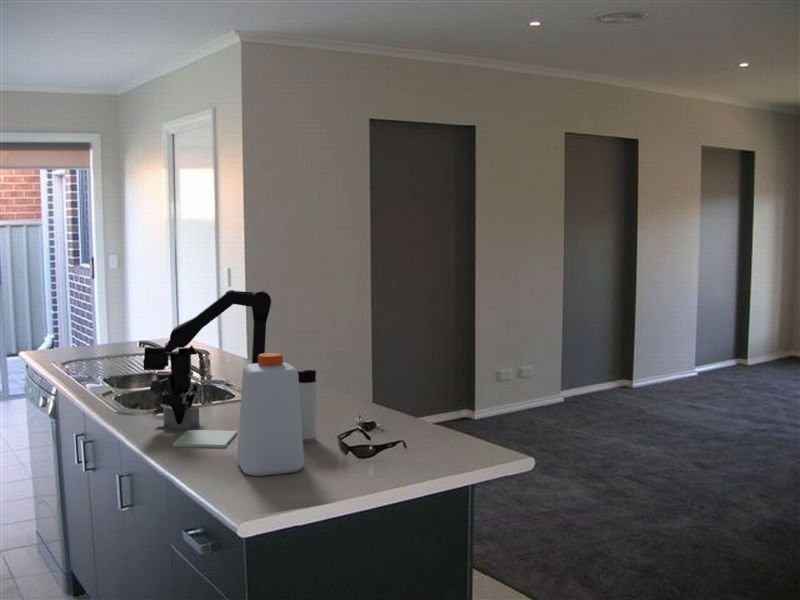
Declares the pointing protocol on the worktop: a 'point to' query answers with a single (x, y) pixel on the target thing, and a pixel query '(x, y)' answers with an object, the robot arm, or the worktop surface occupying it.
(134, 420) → the worktop surface
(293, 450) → the plastic bottle
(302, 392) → the travel mug
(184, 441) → the sage board
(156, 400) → the supplement bottle
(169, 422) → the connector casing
